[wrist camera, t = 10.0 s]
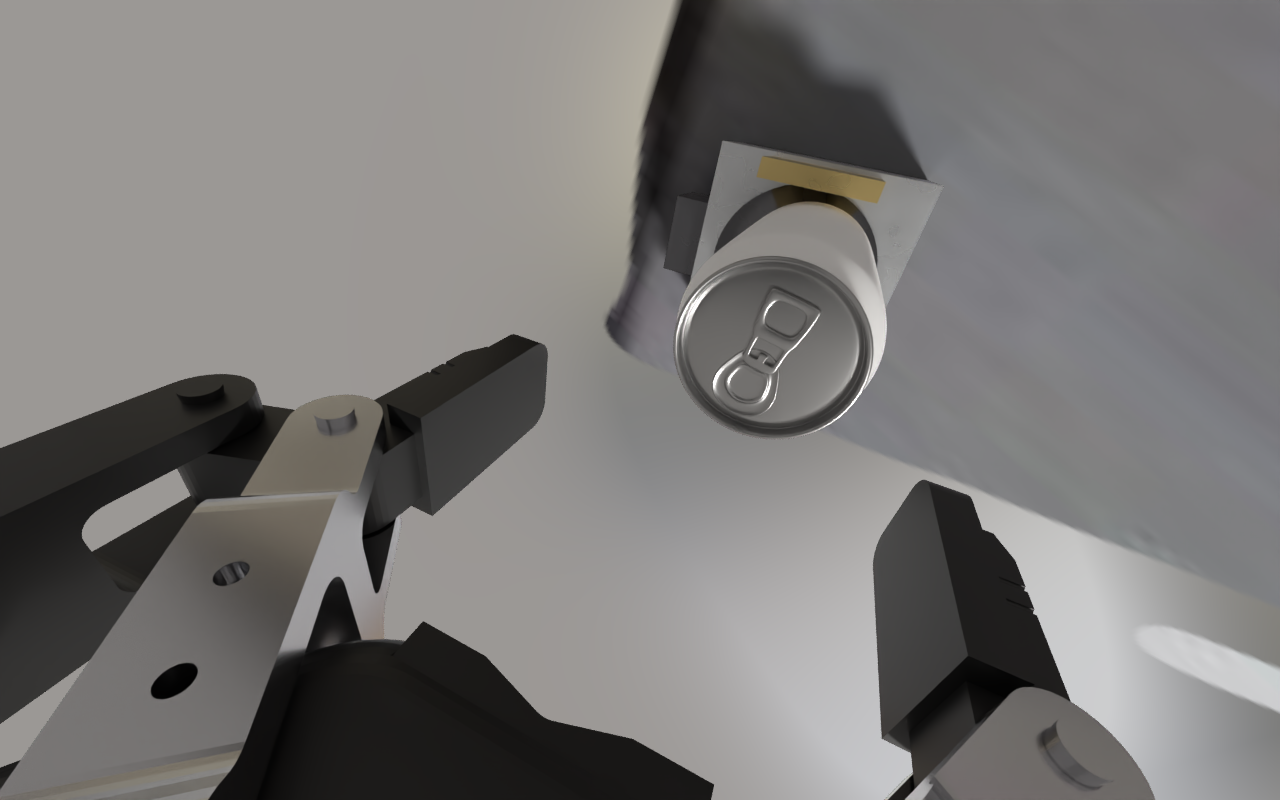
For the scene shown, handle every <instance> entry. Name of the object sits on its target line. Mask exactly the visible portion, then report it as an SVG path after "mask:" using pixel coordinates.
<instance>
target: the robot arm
mask: <svg viewBox="0 0 1280 800" xmlns="http://www.w3.org/2000/svg"><path fill="white" fill-rule="evenodd" d="M547 358H548V353H547V348H546V347H545V345H543V344H541V343H538V342H535V341H532V340H530V339H527V338H524V337H521V336H518V335H514V334H513V335H510V336H508V337H506V338H504V339H502V340H500V341H499V342H497V343H495V344H493V345H491V346H490V347H484V348H480V349H476V350H472V351H468V352H464V353H462V354H460V355H458V356H456V357H454V358H453V359H451V360H449V361H447V362H446V364H441V365H439V366H438V367H436V368H434V369H432V370H431V372H430V373H429V372H427V373H424V374H423V375H421V376H419V377H417V378H415V379H413V380H411V381H409V382H407V383H406V384H404V385H402V386H400V387H398V388H396V389H394V390H392V391H391V392H389V393H387V394H385V395H383V396H381V397H380V398H377V399H376V400H372V399H370V398H367V397H363V396H356V395H336V396H329V397H324V398H321V399H317V400H314V401H311V402H309V403H306V404H304V405H302V406H300V407H299V408H298V409H296V410H292V409H285V408H279V407H272V406H266V405H262V403H261V400H260V397H259V394H258V391H257V388H256V386H255V384H254V382H252V381H251V380H249V379H247V378H245V377H242V376H237V375H228V374H214V375H204V376H197V377H193V378H188V379H184V380H181V381H178V382H175V383H172V384H169V385H166V386H164V387H161V388H159V389H156V390H153V391H151V392H148V393H145V394H143V395H140V396H137V397H135V398H132V399H129V400H127V401H124V402H122V403H119V404H116V405H113V406H111V407H108V408H106V409H103V410H100V411H98V412H95V413H92V414H90V415H87V416H85V417H82V418H79V419H76V420H74V421H71V422H69V423H66V424H63V425H61V426H58V427H55V428H53V429H50V430H47V431H45V432H42V433H39V434H37V435H34V436H32V437H29V438H26V439H24V440H21V441H19V442H16V443H13V444H10V445H8V446H5V447H3V448H0V724H1V723H2V722H4V721H5V720H6V719H8V718H9V717H11V716H12V715H13V714H15V713H16V712H18V711H19V710H20V709H22V708H23V707H25V706H26V705H27V704H29V703H30V702H32V701H33V700H34V699H36V698H37V697H38V696H40V695H41V694H43V693H44V692H46V691H47V690H48V689H50V688H51V687H52V686H54V685H55V684H57V683H58V682H59V681H61V680H62V679H64V678H65V677H67V676H68V675H69V674H71V673H72V672H73V671H75V670H76V669H77V668H79V667H80V666H82V665H83V664H85V663H86V662H87V661H89V660H90V661H89V662H88V664H87V665H86V667H85V668H84V669H83V671H82V673H81V674H80V675H79V677H78V678H77V680H76V681H75V682H74V684H73V685H72V687H71V688H70V690H69V691H68V693H67V694H66V695H65V697H64V698H63V700H62V701H61V703H60V704H59V706H58V707H57V709H56V710H55V711H54V713H53V714H52V716H51V717H50V719H49V720H48V721H47V723H46V725H45V726H44V727H43V729H42V730H41V732H40V733H39V735H38V736H37V737H36V739H35V740H34V742H33V743H32V745H31V746H30V747H29V749H28V750H27V752H26V753H25V755H24V756H23V758H22V759H21V760H20V761H17V762H14V763H12V764H9V765H6V766H4V767H1V768H0V800H711V797H712V792H713V787H714V784H712V783H710V782H708V781H707V780H705V779H703V778H701V777H699V776H698V775H696V774H694V773H692V772H690V771H689V770H687V769H685V768H683V767H682V766H680V765H678V764H676V763H675V762H673V761H671V760H669V759H667V758H666V757H664V756H662V755H660V754H659V753H657V752H655V751H653V750H651V749H649V748H648V747H646V746H644V745H642V744H641V743H639V742H637V741H635V740H634V739H630V738H626V737H621V736H617V735H613V734H608V733H603V732H599V731H595V730H590V729H586V728H582V727H577V726H573V725H568V724H564V723H559V722H554V721H551V720H548V719H546V718H544V717H543V716H541V715H540V714H539V713H538V712H536V710H535V709H534V708H533V707H532V706H531V705H530V704H529V703H528V702H527V701H526V700H525V698H524V697H523V696H522V695H521V694H520V693H519V692H518V691H517V690H516V689H515V688H514V686H513V685H512V684H511V683H510V682H509V681H508V680H507V679H506V678H505V677H504V676H503V675H502V674H501V672H500V671H499V670H498V669H497V668H496V667H495V666H494V665H493V664H492V663H491V662H490V661H489V660H488V658H487V657H486V656H484V655H482V654H480V653H479V652H477V651H475V650H473V649H471V648H470V647H468V646H466V645H465V644H462V643H461V642H459V641H457V640H456V639H454V638H452V637H450V636H449V635H447V634H445V633H443V632H441V631H440V630H438V629H436V628H434V627H432V626H431V625H429V624H427V623H425V622H422V623H421V624H420V625H419V626H418V628H417V629H416V630H415V631H414V632H413V633H412V634H411V635H410V636H409V638H408V639H407V640H406V641H402V640H388V639H384V610H385V603H386V598H387V593H388V588H389V584H390V579H391V574H392V569H393V564H394V559H395V554H396V550H397V545H398V540H399V534H400V530H401V525H402V520H401V513H403V512H404V511H405V510H406V509H407V508H409V507H410V506H413V507H416V508H417V509H419V510H421V511H424V512H425V513H427V514H430V515H432V516H433V515H434V514H435V513H436V512H437V511H438V510H440V509H441V508H442V507H443V506H444V505H445V504H446V503H448V502H449V501H450V500H451V499H452V498H453V497H454V496H456V495H457V494H458V493H459V492H460V491H461V490H462V489H463V488H465V487H466V486H467V485H468V484H469V483H470V482H471V481H473V480H474V479H475V478H476V477H477V476H478V475H479V474H480V473H482V472H483V471H484V470H485V469H486V468H487V467H488V466H490V464H492V463H493V462H494V461H495V460H496V459H497V458H499V457H500V456H501V455H502V454H503V453H504V452H505V451H507V450H508V449H509V448H510V447H511V446H512V445H513V444H514V443H516V442H517V441H518V440H519V439H520V438H521V437H522V436H523V435H525V434H526V433H527V432H528V431H529V430H530V429H532V428H533V426H535V424H536V423H537V422H538V420H539V418H540V416H541V414H542V412H543V408H544V404H545V391H546V375H547ZM175 469H178V471H179V473H180V475H181V477H182V479H183V481H184V483H185V485H186V487H187V489H188V490H189V493H190V495H191V496H190V497H188V498H186V499H184V500H182V501H181V502H179V503H177V504H176V505H174V506H172V507H170V508H168V509H167V510H165V511H163V512H161V513H160V514H158V515H156V516H154V517H153V518H151V519H150V520H147V521H146V522H144V523H142V524H140V525H138V526H137V527H135V528H133V529H131V530H130V531H128V532H126V533H124V534H123V535H121V536H119V537H117V538H116V539H114V540H112V541H110V542H109V543H107V544H105V545H103V546H102V547H100V548H98V549H97V550H94V551H93V552H91V550H90V549H89V548H88V546H86V544H85V542H84V541H83V539H82V529H83V526H84V524H85V522H86V521H87V520H88V519H89V517H90V516H91V515H92V514H93V513H94V512H96V511H97V510H98V509H100V508H101V507H103V506H105V505H107V504H108V503H110V502H112V501H114V500H116V499H118V498H120V497H122V496H124V495H126V494H128V493H130V492H132V491H133V490H136V489H138V488H140V487H141V486H144V485H145V484H147V483H149V482H151V481H153V480H155V479H157V478H159V477H161V476H163V475H165V474H167V473H169V472H171V471H173V470H175ZM873 572H874V573H873V574H874V591H875V592H874V594H875V613H876V633H877V652H878V673H879V693H880V711H881V731H882V739H884V740H886V741H888V742H890V743H892V744H894V745H896V746H898V747H900V748H902V749H904V750H906V751H908V752H910V753H911V757H912V767H913V773H911V774H910V775H909V776H908V777H907V778H905V779H904V780H903V781H902V782H901V783H900V784H899V785H898V786H897V787H896V788H895V789H894V790H893V791H892V792H891V793H890V794H889V795H888V796H887V797H886V798H885V799H884V800H1155V798H1154V795H1153V793H1152V790H1151V788H1150V786H1149V783H1148V782H1147V780H1146V778H1145V776H1144V775H1143V773H1142V771H1141V770H1140V768H1139V767H1138V765H1137V764H1136V762H1135V761H1134V760H1133V758H1132V757H1131V756H1130V754H1129V753H1128V752H1127V751H1126V750H1125V748H1124V747H1123V746H1122V745H1121V744H1120V743H1119V742H1118V741H1117V739H1116V738H1115V737H1114V736H1113V735H1112V734H1111V733H1110V732H1109V731H1108V730H1106V728H1104V727H1103V726H1102V725H1101V724H1100V723H1099V722H1098V721H1097V720H1095V719H1094V718H1093V717H1092V716H1090V715H1089V714H1088V713H1087V712H1085V711H1084V710H1082V709H1081V708H1079V707H1078V706H1077V705H1075V704H1073V703H1072V702H1071V701H1070V699H1069V696H1068V694H1067V691H1066V689H1065V686H1064V683H1063V681H1062V678H1061V676H1060V673H1059V671H1058V668H1057V666H1056V663H1055V661H1054V658H1053V655H1052V653H1051V650H1050V648H1049V645H1048V643H1047V640H1046V638H1045V635H1044V633H1043V630H1042V628H1041V625H1040V622H1039V620H1038V618H1037V616H1036V615H1034V614H1033V611H1034V607H1033V605H1032V602H1031V600H1030V597H1029V595H1028V593H1027V592H1025V591H1024V589H1025V584H1024V582H1023V579H1022V577H1021V574H1020V572H1019V569H1018V567H1017V564H1016V562H1015V560H1014V559H1013V557H1012V556H1011V555H1010V554H1009V552H1008V551H1007V550H1006V549H1005V547H1004V546H1003V545H1002V544H1001V543H1000V541H999V540H998V539H997V538H996V536H995V535H994V534H993V533H990V532H988V531H985V530H982V527H981V524H980V521H979V518H978V516H977V513H976V510H975V507H974V504H973V501H972V499H971V497H970V496H968V495H966V494H963V493H960V492H958V491H955V490H952V489H949V488H946V487H943V486H941V485H938V484H935V483H932V482H929V481H927V480H921V481H919V482H918V483H917V484H916V485H915V486H914V487H913V489H912V490H911V492H910V493H909V495H908V496H907V498H906V499H905V501H904V502H903V504H902V505H901V507H900V508H899V510H898V511H897V513H896V514H895V516H894V517H893V519H892V520H891V522H890V523H889V525H888V526H887V528H886V529H885V531H884V532H883V534H882V535H881V537H880V540H879V542H878V544H877V547H876V551H875V555H874V560H873Z"/></svg>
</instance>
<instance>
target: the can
mask: <svg viewBox="0 0 1280 800" xmlns="http://www.w3.org/2000/svg"><path fill="white" fill-rule="evenodd" d="M886 332H887V322H886V311H885V305H884V299H883V294H882V290H881V285H880V280H879V276H878V272H877V267H876V263H875V259H874V255H873V251H872V248H871V245H870V242H869V240H868V237H867V235H866V233H865V232H864V230H863V229H862V227H861V226H860V225H859V223H858V222H857V221H856V220H855V219H854V218H853V217H852V216H850V215H849V214H848V213H846V212H845V211H843V210H841V209H839V208H837V207H835V206H832V205H829V204H826V203H821V202H798V203H793V204H789V205H786V206H783V207H780V208H778V209H776V210H774V211H772V212H771V213H769V214H767V215H766V216H764V217H763V218H761V219H760V220H758V221H757V222H756V223H754V224H753V225H751V226H750V227H749V228H747V229H746V230H745V231H743V232H742V233H741V234H739V235H738V236H737V237H735V238H734V239H733V240H731V241H730V242H729V243H727V244H726V245H725V246H723V247H722V248H721V249H720V250H718V251H717V252H716V253H715V254H714V255H713V256H712V257H710V258H709V259H708V260H707V261H706V262H705V263H704V264H703V265H702V266H701V268H700V269H699V270H698V271H697V273H696V274H695V275H694V277H693V278H692V280H691V281H690V283H689V285H688V287H687V289H686V291H685V293H684V295H683V298H682V300H681V303H680V307H679V311H678V316H677V323H676V327H675V331H674V339H673V353H674V361H675V365H676V369H677V372H678V375H679V378H680V380H681V382H682V385H683V386H684V388H685V390H686V392H687V393H688V395H689V396H690V398H691V399H692V400H693V402H694V403H695V404H696V405H697V406H698V407H699V408H700V409H701V410H702V411H703V412H704V413H705V414H706V415H707V416H709V417H710V418H711V419H713V420H714V421H716V422H717V423H719V424H721V425H722V426H724V427H726V428H728V429H730V430H733V431H735V432H738V433H740V434H743V435H747V436H750V437H755V438H762V439H790V438H795V437H800V436H804V435H808V434H811V433H813V432H816V431H818V430H821V429H823V428H825V427H826V426H828V425H830V424H832V423H833V422H835V421H836V420H837V419H839V418H840V417H841V416H842V415H844V414H845V413H846V412H847V411H848V410H849V409H850V408H851V407H852V405H853V404H854V403H855V402H856V400H857V399H858V398H859V396H860V395H861V393H862V391H863V390H864V389H865V387H866V386H867V385H868V383H869V382H870V381H871V379H872V377H873V376H874V374H875V372H876V370H877V368H878V366H879V363H880V361H881V358H882V355H883V351H884V347H885V341H886Z"/></svg>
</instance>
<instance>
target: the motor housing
mask: <svg viewBox="0 0 1280 800" xmlns="http://www.w3.org/2000/svg"><path fill="white" fill-rule="evenodd" d="M943 187H944V186H942V185H940V184H937V183H934V182H931V181H928V180H924V179H919V178H914V177H909V176H905V175H900V174H895V173H890V172H885V171H880V170H875V169H870V168H865V167H861V166H856V165H851V164H846V163H841V162H836V161H831V160H826V159H821V158H817V157H812V156H807V155H802V154H797V153H792V152H787V151H782V150H777V149H772V148H768V147H763V146H758V145H753V144H748V143H743V142H733V141H722V145H721V150H720V154H719V158H718V163H717V167H716V171H715V176H714V180H713V184H712V189H711V193H710V196H708V195H703V194H699V193H695V192H691V193H687V194H683V195H679V196H677V201H676V206H675V211H674V216H673V222H672V227H671V232H670V237H669V242H668V247H667V252H666V257H665V263H664V268H665V269H669V270H672V271H676V272H680V273H683V274H687V275H690V276H691V280H692V278H693V277H694V275H695V274H696V273H697V271H698V270H699V269H700V268H701V266H702V265H703V264H704V263H705V262H706V261H707V260H708V259H709V258H710V257H712V256H713V255H714V254H715V253H716V252H717V251H718V250H720V249H721V248H722V247H723V246H725V245H726V244H727V243H729V242H730V241H731V240H733V239H734V238H735V237H737V236H738V235H739V234H741V233H742V232H743V231H745V230H746V229H747V228H749V227H750V226H751V225H753V224H754V223H756V222H757V221H758V220H760V219H761V218H763V217H764V216H766V215H767V214H769V213H771V212H772V211H774V210H776V209H778V208H780V207H783V206H786V205H789V204H793V203H798V202H821V203H826V204H829V205H832V206H835V207H837V208H839V209H841V210H843V211H845V212H846V213H848V214H849V215H850V216H852V217H853V218H854V219H855V220H856V221H857V222H858V223H859V225H860V226H861V227H862V229H863V230H864V232H865V233H866V235H867V237H868V240H869V242H870V245H871V248H872V251H873V255H874V259H875V263H876V267H877V272H878V276H879V280H880V285H881V290H882V294H883V299H884V305H885V308H886V306H887V304H888V302H889V300H890V298H891V295H892V293H893V291H894V289H895V287H896V285H897V283H898V281H899V279H900V277H901V275H902V273H903V270H904V268H905V266H906V264H907V262H908V260H909V258H910V256H911V254H912V252H913V250H914V247H915V245H916V243H917V241H918V239H919V237H920V235H921V233H922V231H923V229H924V227H925V224H926V222H927V220H928V218H929V216H930V214H931V212H932V210H933V208H934V206H935V204H936V202H937V199H938V197H939V195H940V193H941V191H942V189H943ZM691 280H690V281H691Z"/></svg>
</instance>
